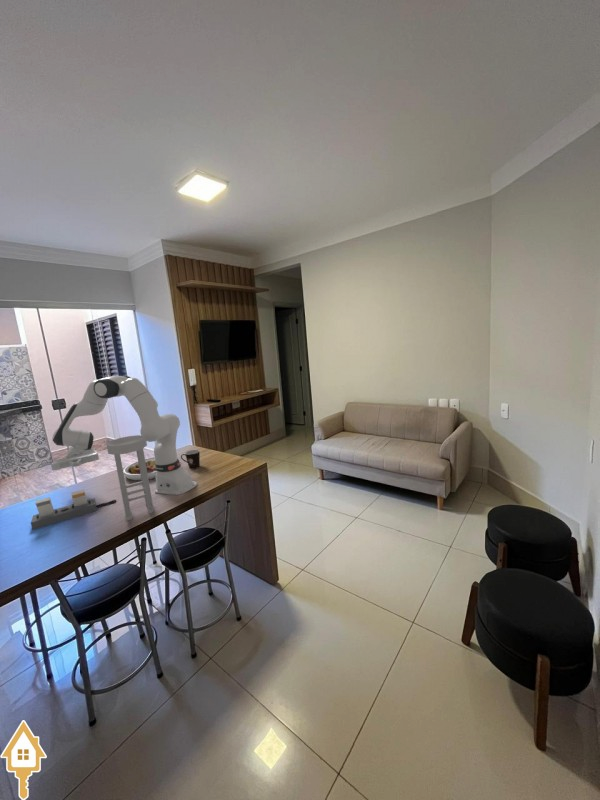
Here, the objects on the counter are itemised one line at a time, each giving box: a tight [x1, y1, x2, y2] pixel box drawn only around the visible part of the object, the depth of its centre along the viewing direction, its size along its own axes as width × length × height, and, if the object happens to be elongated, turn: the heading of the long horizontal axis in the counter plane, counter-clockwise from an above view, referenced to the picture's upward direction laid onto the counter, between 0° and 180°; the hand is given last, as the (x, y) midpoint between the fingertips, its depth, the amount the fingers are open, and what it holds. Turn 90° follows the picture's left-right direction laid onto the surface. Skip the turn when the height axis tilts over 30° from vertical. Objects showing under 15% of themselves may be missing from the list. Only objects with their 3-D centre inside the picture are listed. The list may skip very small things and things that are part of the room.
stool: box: [106, 434, 155, 521], centre depth 144 cm, size 16×16×35 cm
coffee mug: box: [180, 449, 201, 470], centre depth 199 cm, size 12×9×10 cm
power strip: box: [30, 497, 117, 531], centre depth 150 cm, size 33×8×5 cm, turn 124°
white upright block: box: [71, 489, 88, 507], centre depth 148 cm, size 5×2×8 cm, turn 124°
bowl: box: [123, 456, 157, 481], centre depth 196 cm, size 30×30×8 cm
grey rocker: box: [35, 496, 54, 516], centre depth 142 cm, size 5×2×8 cm, turn 124°
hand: (75, 464), depth 158 cm, fingers closed
